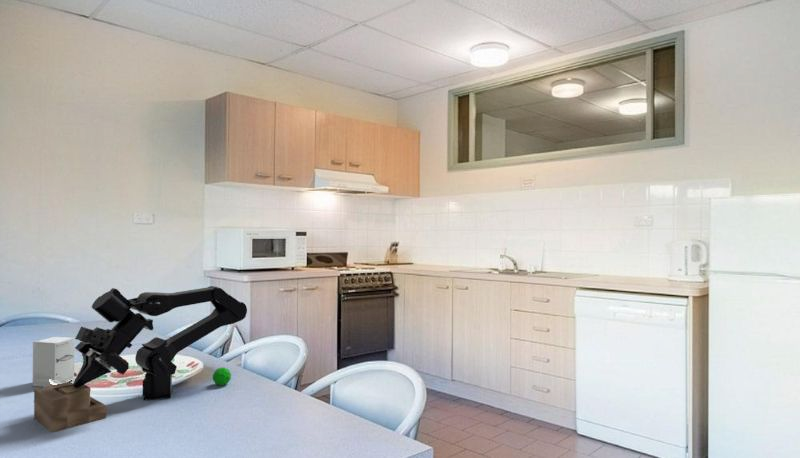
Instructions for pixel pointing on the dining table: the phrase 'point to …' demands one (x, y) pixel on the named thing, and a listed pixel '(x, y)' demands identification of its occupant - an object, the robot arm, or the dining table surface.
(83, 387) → the peg
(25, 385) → the dining table surface
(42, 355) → the supplement box
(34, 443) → the dining table surface
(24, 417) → the dining table surface
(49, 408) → the socket
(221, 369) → the polyhedron
